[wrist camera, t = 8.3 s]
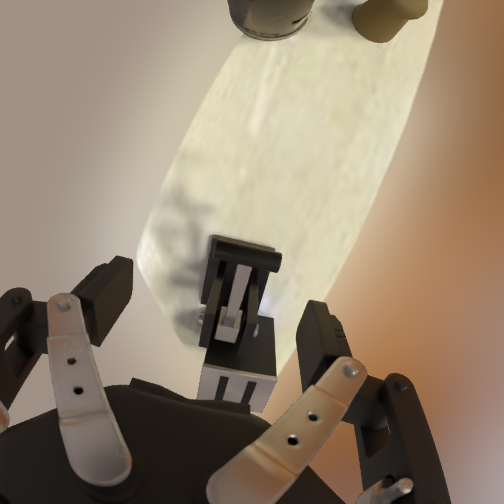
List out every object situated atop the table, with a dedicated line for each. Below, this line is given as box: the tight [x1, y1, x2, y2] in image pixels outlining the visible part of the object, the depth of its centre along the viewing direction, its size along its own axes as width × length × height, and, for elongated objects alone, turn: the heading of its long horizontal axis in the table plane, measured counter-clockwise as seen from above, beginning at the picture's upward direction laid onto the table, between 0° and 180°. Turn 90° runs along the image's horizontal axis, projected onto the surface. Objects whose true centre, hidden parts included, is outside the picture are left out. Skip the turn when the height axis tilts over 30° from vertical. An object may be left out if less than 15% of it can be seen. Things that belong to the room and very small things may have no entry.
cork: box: [352, 0, 428, 43], centre depth 20 cm, size 6×6×11 cm
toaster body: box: [196, 308, 277, 413], centre depth 37 cm, size 7×8×12 cm
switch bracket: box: [198, 235, 275, 356], centre depth 33 cm, size 10×8×13 cm
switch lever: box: [213, 239, 282, 343], centre depth 26 cm, size 12×5×2 cm, turn 165°
